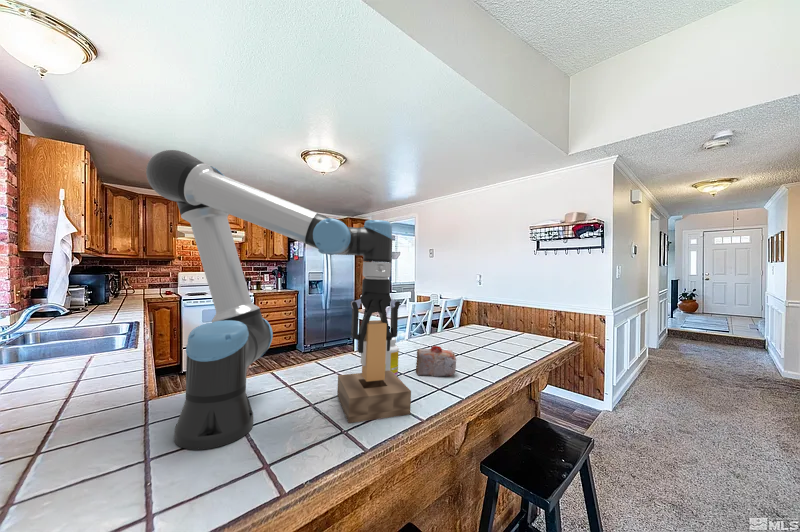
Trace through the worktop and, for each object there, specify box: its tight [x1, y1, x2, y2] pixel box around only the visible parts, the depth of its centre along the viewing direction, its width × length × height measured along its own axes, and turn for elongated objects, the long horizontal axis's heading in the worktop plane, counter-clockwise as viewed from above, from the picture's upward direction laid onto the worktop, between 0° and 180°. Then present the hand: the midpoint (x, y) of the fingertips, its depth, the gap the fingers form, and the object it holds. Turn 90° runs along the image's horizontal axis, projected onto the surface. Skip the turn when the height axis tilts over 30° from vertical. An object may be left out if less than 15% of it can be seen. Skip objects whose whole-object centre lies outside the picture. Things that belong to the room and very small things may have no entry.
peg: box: [361, 319, 387, 382], centre depth 86 cm, size 5×5×15 cm
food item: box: [415, 345, 457, 378], centre depth 113 cm, size 14×8×10 cm, turn 91°
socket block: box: [336, 370, 412, 424], centre depth 87 cm, size 16×16×6 cm
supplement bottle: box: [385, 337, 400, 377], centre depth 109 cm, size 7×7×13 cm
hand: (373, 363), depth 86 cm, fingers closed on peg, 5 cm apart
